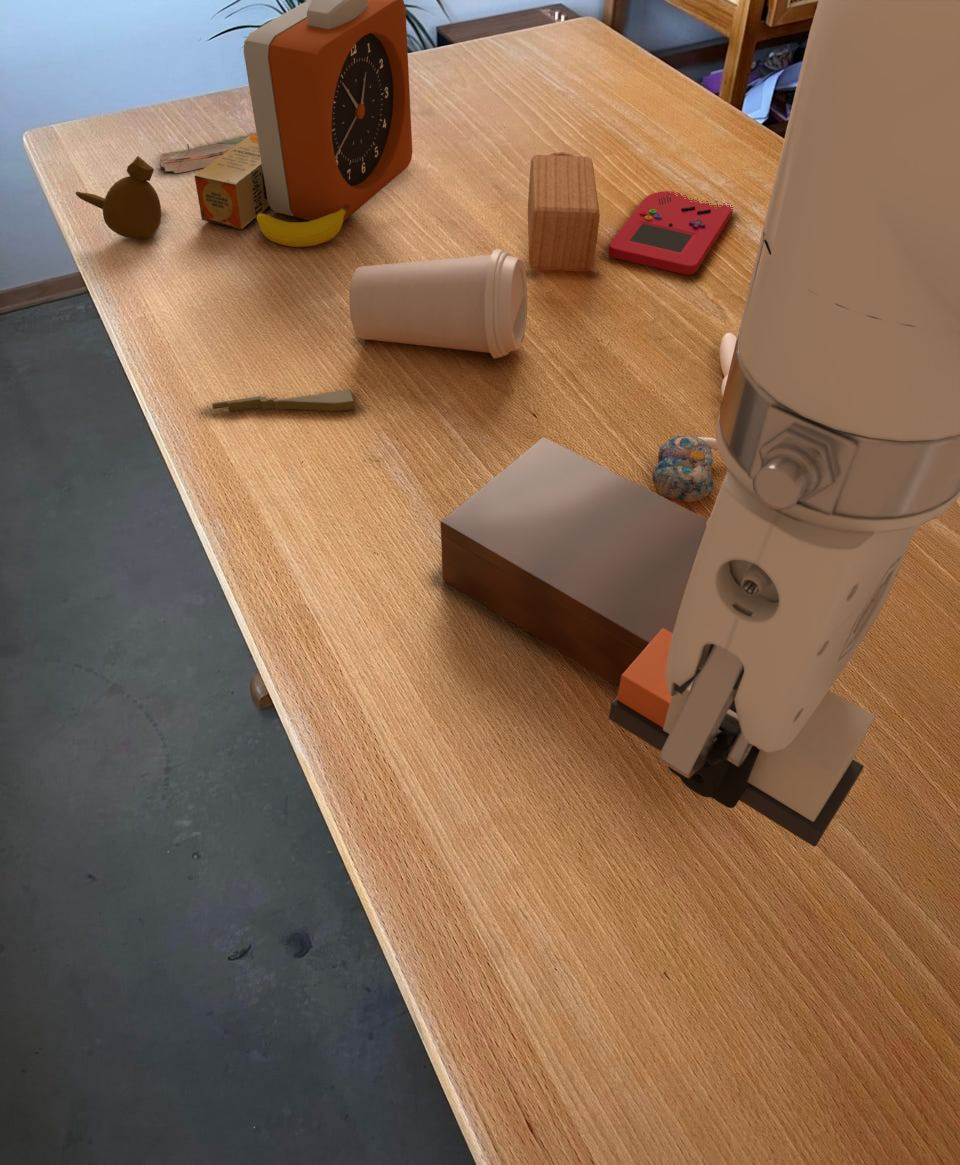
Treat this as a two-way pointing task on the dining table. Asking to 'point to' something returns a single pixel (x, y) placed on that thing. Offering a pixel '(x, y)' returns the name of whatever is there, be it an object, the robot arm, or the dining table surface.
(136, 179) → the figurine
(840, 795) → the tricolour layered block
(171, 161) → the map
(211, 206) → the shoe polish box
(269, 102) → the alarm clock
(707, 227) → the handheld gaming console
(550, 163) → the decorative item
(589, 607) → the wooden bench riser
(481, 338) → the coffee cup
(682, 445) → the decorative stone
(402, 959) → the dining table surface
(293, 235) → the fruit
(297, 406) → the olive tapered flat bar
